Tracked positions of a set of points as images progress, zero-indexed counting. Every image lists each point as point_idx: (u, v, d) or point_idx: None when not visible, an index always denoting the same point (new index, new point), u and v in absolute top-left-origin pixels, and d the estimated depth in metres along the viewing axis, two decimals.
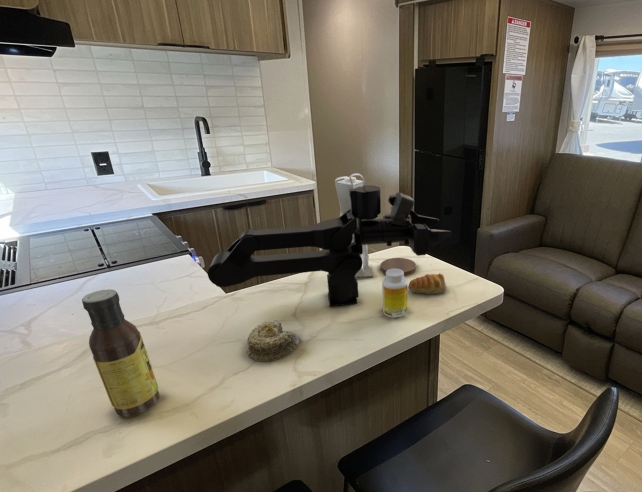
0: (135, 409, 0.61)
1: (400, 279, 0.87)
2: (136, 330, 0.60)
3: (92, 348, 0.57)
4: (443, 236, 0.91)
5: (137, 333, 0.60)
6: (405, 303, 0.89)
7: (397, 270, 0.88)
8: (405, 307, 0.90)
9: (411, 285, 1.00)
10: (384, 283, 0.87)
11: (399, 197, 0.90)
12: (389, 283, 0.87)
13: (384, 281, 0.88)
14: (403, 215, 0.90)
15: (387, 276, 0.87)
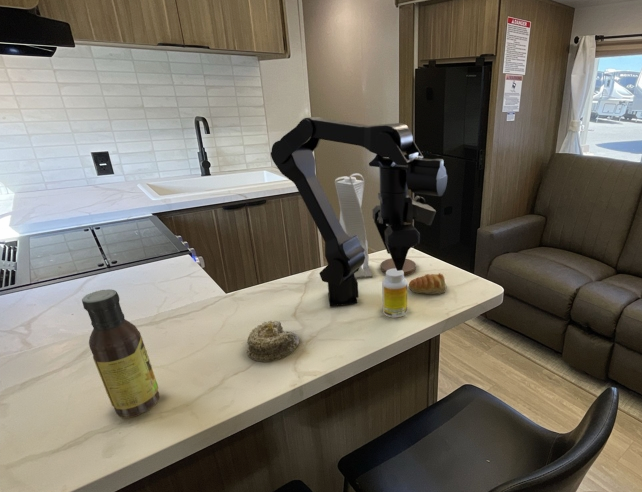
0: (135, 409, 0.61)
1: (400, 279, 0.87)
2: (136, 330, 0.60)
3: (92, 348, 0.57)
4: (398, 262, 0.81)
5: (137, 333, 0.60)
6: (405, 303, 0.89)
7: None
8: (405, 307, 0.90)
9: (411, 285, 1.00)
10: (384, 283, 0.87)
11: (432, 208, 0.83)
12: (389, 283, 0.87)
13: (384, 281, 0.88)
14: (417, 215, 0.81)
15: (387, 276, 0.87)
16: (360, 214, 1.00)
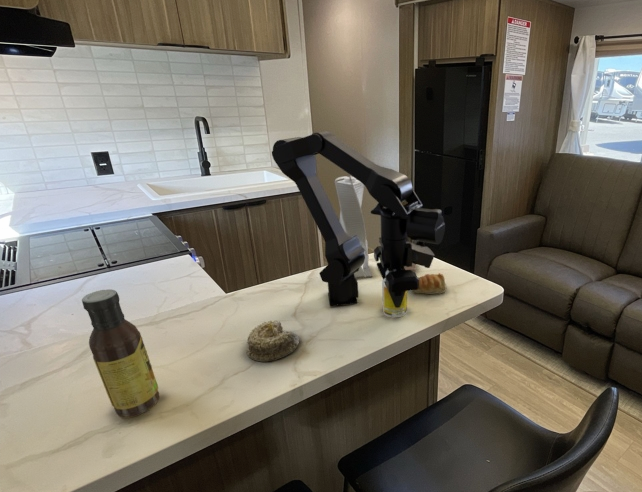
0: (135, 409, 0.61)
1: None
2: (136, 330, 0.60)
3: (92, 348, 0.57)
4: (397, 300, 0.86)
5: (137, 333, 0.60)
6: (405, 303, 0.89)
7: None
8: (405, 307, 0.90)
9: None
10: (384, 283, 0.87)
11: (430, 252, 0.87)
12: None
13: None
14: (417, 259, 0.85)
15: None
16: (360, 214, 1.00)
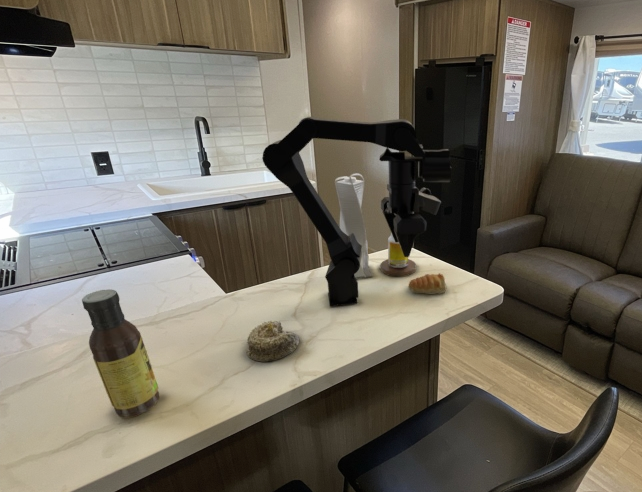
0: (135, 409, 0.61)
1: None
2: (136, 330, 0.60)
3: (92, 348, 0.57)
4: (406, 249, 0.87)
5: (137, 333, 0.60)
6: None
7: None
8: (406, 260, 1.11)
9: (411, 285, 1.00)
10: (390, 239, 1.08)
11: (437, 199, 0.89)
12: None
13: (390, 238, 1.09)
14: (424, 205, 0.87)
15: None
16: (360, 214, 1.00)
